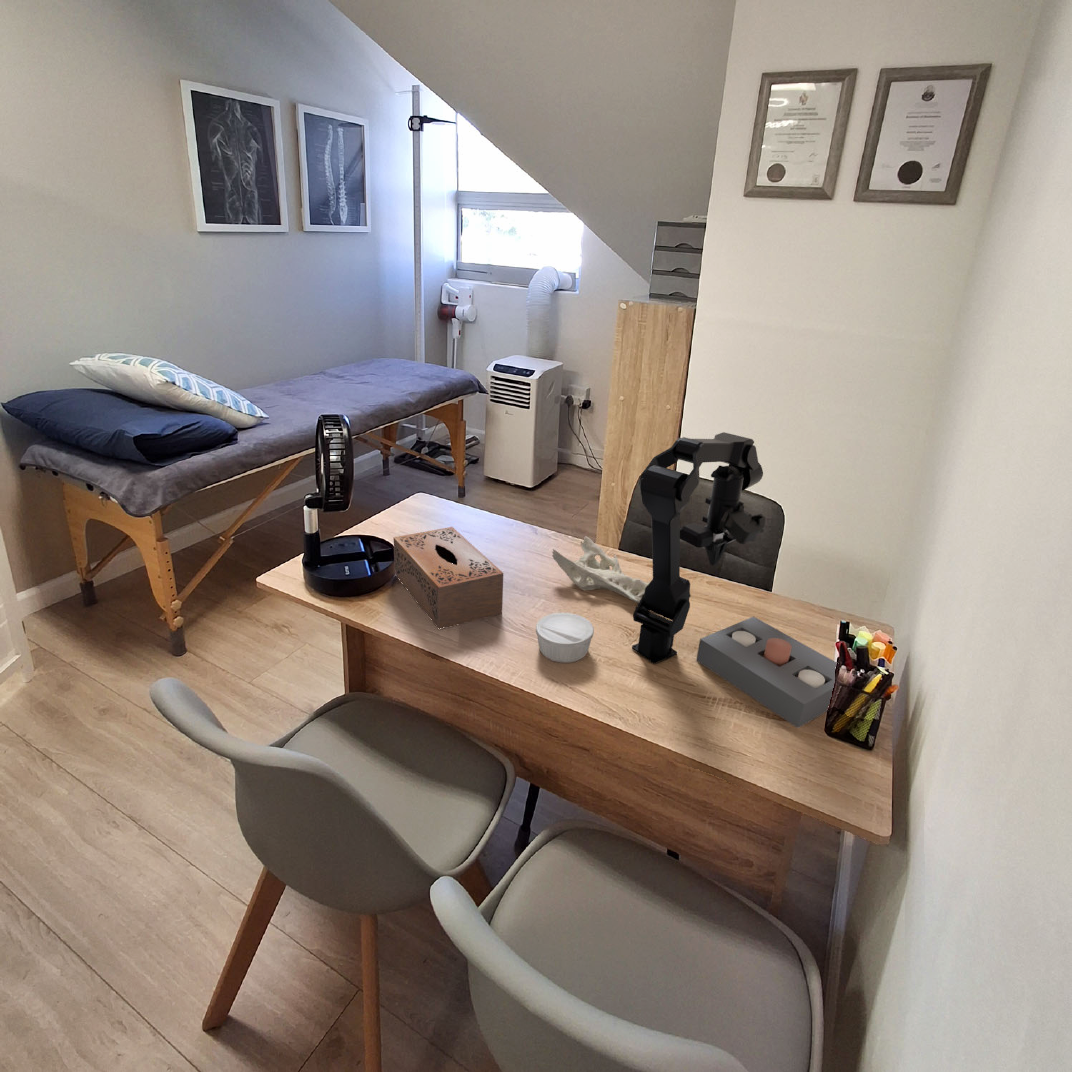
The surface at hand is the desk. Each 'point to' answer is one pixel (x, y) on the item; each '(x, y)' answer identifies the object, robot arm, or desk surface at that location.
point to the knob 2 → (812, 678)
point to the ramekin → (564, 636)
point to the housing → (770, 671)
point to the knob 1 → (744, 638)
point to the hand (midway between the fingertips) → (713, 564)
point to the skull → (600, 572)
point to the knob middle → (777, 651)
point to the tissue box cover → (448, 576)
